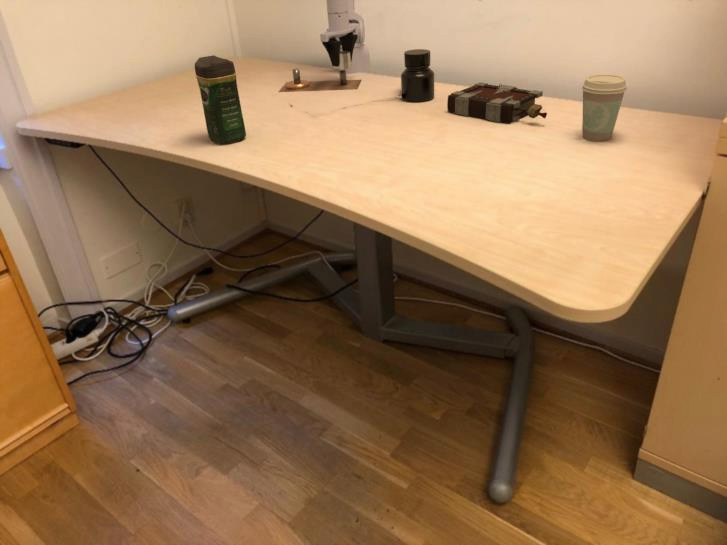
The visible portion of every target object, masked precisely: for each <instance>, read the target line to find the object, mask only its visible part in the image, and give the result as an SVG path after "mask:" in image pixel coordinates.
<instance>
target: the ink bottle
mask: <svg viewBox="0 0 727 545" xmlns="http://www.w3.org/2000/svg"><path fill="white" fill-rule="evenodd" d="M403 56H404V57H403V58H404V67H405V68H404V70H403V71H402V72H401V74H400V89H401V94H400V95H401V100H403V101H406V102H409V103H410V102H412V103H419V102H420V103H421V102H427V101H428V102H429V101H431V100H432V99H434V98H435V72H434V71H433V70H432V69H431V50H429V49H424V48H423V49H422V48H421V49H420V48H419V49H417V48H416V49H410V50H405V51H404V53H403Z"/></svg>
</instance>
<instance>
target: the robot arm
mask: <svg viewBox="0 0 727 545" xmlns="http://www.w3.org/2000/svg"><path fill="white" fill-rule="evenodd" d="M325 1H326V12H327V22H328V28H327V29H326V31H324V32H322V33H320V34H319V37H320V42H322V43H321V44H322V46H323V47H324V48H325V50H326V52H327V54H328V57H329V60H330V63H331V66H332V67H333V66H337V67H338V66H339V65H340V51H350V59H351V67H350V68H347V69H338V70H339V71H340V70H346V75H353V74H357V73H362V72H366V71H371V59H370V58H371V55H370V49H369V47H368V46H367V45H366V43H365V41H366V40H365V39H366V34H365V33H366V32H365V30H366V29H365V24H364V23H365V21H364V18H363V16H362V15H361V14H359V13H358V12H357V11H355V0H325ZM364 43H365V44H364Z"/></svg>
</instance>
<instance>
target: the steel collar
mask: <svg viewBox="0 0 727 545" xmlns="http://www.w3.org/2000/svg"><path fill="white" fill-rule="evenodd" d="M332 67H333V70H334V69H335V70H339V69H347V68H350V67H351V59H350V51H340V65H339V66H338V67H337V66H332Z"/></svg>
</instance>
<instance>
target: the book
mask: <svg viewBox="0 0 727 545" xmlns="http://www.w3.org/2000/svg"><path fill="white" fill-rule="evenodd" d="M543 92H544V91H542V90H534V89H533V90H528V89H521V88H518V87H516V86H515V85H513V86H512V85H506V84H502V83H500V84H499V85H493V84H489V83H487V82H481V81H479V82H477V83H474V85H472V86H469V87H467V88H465V89H462V90H457V91H453V92H451V93H450V94H448V95H447V105H446V106H447V108H446V109H447V112H448V113H454V114H456V115H457V116H463V117H468V116H469V117H474V118H480V119H485V120H487V121H488V122H494V123H500V122H501V123H505V124H511V123H512V124H514V123H516V122H518V121H520V119H522V118H523V117H526V116H528V117H529V118H531V119H535V118H538V117H539V116H540V117H541V118H543V119H546V117H547V115H548V113H547V112H546V111H545V112H541V110H542V109H543V105H542V104H537V103H535V102H536V99H538V98H541V97H543V94H544V93H543Z"/></svg>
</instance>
